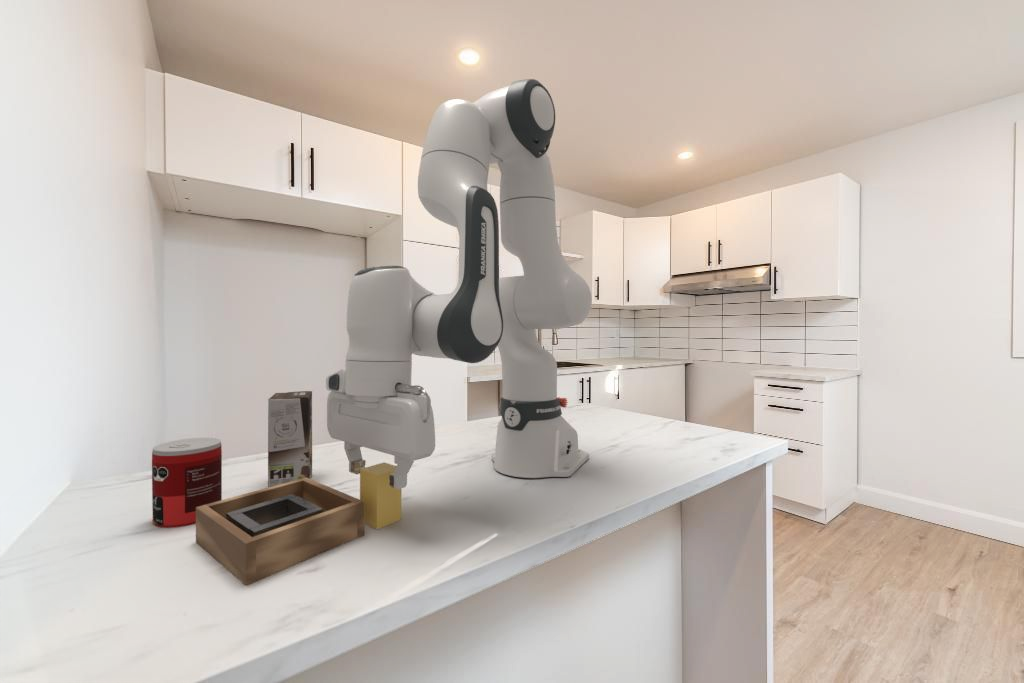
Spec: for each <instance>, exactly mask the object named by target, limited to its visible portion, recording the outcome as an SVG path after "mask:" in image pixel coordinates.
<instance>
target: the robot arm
mask: <svg viewBox="0 0 1024 683" xmlns="http://www.w3.org/2000/svg"><path fill="white" fill-rule="evenodd" d="M555 124H556V109H555V104H554V101H553V98H552V96H551V93H550V92H549V91H548V89H547V88H546V87H545V86H544V85H543V84H542V83H541V82H540V81H539V80H537V79H535V78H534V79H533V78H529V79H528V78H525V79H520V80H515V81H513V82H511V83H510V84H509V85H506V86H504V87H501V88H498V89H495V90H493V91H489V92H487V93H486V94H484V95H483V96H481V98H478V99H476V100H475V101H473V102H471V101H469V100H466V99H462V98H453V99H449V100H446V101H444V102H443V103H441V104H440V105H439V106H438V107H437V108H436V110H435V111H434V114H433V116H432V118H431V121H430V124H429V126H428V130H427V133H426V136H425V140H424V144H423V147H422V152H421V153H422V154H421V157H420V164H419V169H418V176H417V194H418V199H419V201H420V202H421V205H422V206H423V208H424V209H425V210H426V211H427V212H428V213H429V214H430V215H431V216H432V217H433V218H434V219H437V220H438V221H440V222H442V223H444V224H447V225H449V226H452V227H455V228H456V230H457V231H458V239H459V240H458V241H459V242H458V244H459V245H458V278H457V284H456V286H455V288H454V289H453V290H452V291H451V292H450V293H445V294H435V293H434V292H432V291H430V290H428V289H427V288H426V287H423V285H421V284H420V283H419V282H418V281H417V280H416V279H415V278H414V277H413V276H412V275H411V273H410V270H409V269H408V268H407V267H404V266H401V265H382V266H381V265H380V266H371V267H365V268H363V269H361V270H359V271H357V272H356V273H355V274H354V275H353V277H352V279H351V282H350V285H349V289H348V290H349V291H348V298H347V306H346V307H347V310H346V331H347V335H348V343H349V344H348V347H347V348H348V349H347V351H346V355H345V367H342V368H341V369H339V370H337V371H334V372H333V373H332V374H329V375H327V376H326V380H325V388H326V390H327V391H329V393H328V396H327V399H326V426H327V431H328V434H329V437H330V438H331V439H335V440H336V441H337V440H339V441H341V442H344V443H343V444H344V445H343V446H344V447H343V448H344V451H345V454H346V458H347V460H348V472H350V473H351V474H352V475H353V474H354V475H360V469H362V468H366V459H364V458H363V456H362V450H361V448H362V447H363V448H366V449H370V450H373V451H376V452H380V453H383V454H388V455H389V456H390V455H391V456H394V461H393V462H394V464H395V465H396V466H397V467H396V469H395V472H394V473H393V474H390V477H389V480H390V483H389V485H390V487H393V488H395V489H401V490H402V489H404V488H406V487H407V485H408V474H409V472H410V471H411V468H412V466H413V464H414V462H415V461H417V460H422V459H425V458H428V457H431V456H432V455H433V453H434V451H435V449H436V431H435V430H436V429H435V428H436V426H435V418H434V411H433V410H434V409H433V407H432V403H431V402H432V401H431V397H430V395H429V394H428V392H427V391H426V390H425V389H424V387H423V386H421V385H412V365H413V364H412V362H413V361H412V360H413V357H412V355H415V356H419V357H427V358H430V357H431V358H433V359H434V358H435V359H451V360H454V361H458V362H462V363H463V362H464V363H468V364H476V363H481V362H483V361H485V360H486V359H488V358H489V357H490V356H491V355H492V354H493V353H494V352H495V350H496V349H497V348H498V352H499V354H500V360H501V377H502V378H501V379H502V380H501V381H502V382H501V383H502V388H501V389H502V393H501V394H502V395H501V397H500V400H499V415H500V416H501V419H500V420H499V422H498V424H497V429H496V438H495V439H496V440H495V451H494V453H493V454H492V453H491V454H492V455H491V460H493V461H492V462H493V468H494V470H495V471H496V472H498V473H501V474H503V475H507V476H511V477H514V478H515V477H516V478H524V479H540V478H541V479H542V478H550V477H553V478H554V477H555V478H557V477H558V478H567V477H571V476H572V475H573V474H574V473H575V472H576V471H577V470H579V468H580V467H581V466H582V465H584V464H585V462H586V461H587V460H589V458H590V454H589V452H588V451H585V450H582V449H581V448H579V436H578V432H577V430H576V429H575V428H574V427H573V426H572V425H571V424H570V423H569V422H568V421H567V420H566V419H565V418H564V417H563V416H562V415H563V413H562V408H565V409H566V407H567V405H568V402H569V401H568V399H567V397H558V386H557V385H558V363H557V361H556V358H555V356H554V355H553V354H552V353H551V352H550V351H548V350H547V349H545V348H544V347H543V346H542V345H541V343H540V342H539V339H538V338H537V337H538V336H537V332H536V330H559V329H561V330H562V329H564V328H570V327H574V326H578V325H580V324H582V323H583V322H584V321H585V320H586V319H587V317H588V316H589V313H590V311H591V307H592V301H593V300H592V292H591V288H590V286H589V283H587V281H586V280H585V279H584V277H582V276H581V275H580V274H579V273H578V272H576V271H575V270H573V269H572V268H571V266H570V265H569V264H568V262H567V261H566V259H565V258H564V256H563V253H562V251H561V249H560V245H559V241H558V240H559V239H558V233H557V232H558V231H557V218H556V216H557V215H556V193H555V191H556V190H555V182H554V174H553V170H552V165H551V162H550V158H549V156H548V154H547V152H548V150H549V148H550V144H551V139H552V138H553V135H554V134H553V133H554V132H555V126H556V125H555ZM496 163H497V166H498V168H499V172H500V182H499V183H500V185H499V213H498V207H497V206H498V205H497V203H496V200H495V199H494V197H493V195H492V194H491V193H490V192H489V190H488V178H489V170H490V165H492V164H493V165H494V164H496ZM499 217H500V219H499ZM499 221H500V222H499ZM499 224H500V226H499ZM499 228H500V229H499ZM500 241H501V242H500ZM500 243H501V244H502V246H503V248H504V249H505V250H506V251H507V252H508V253H509V254H512V255H513V256H515V257H517V258H518V260H519V261H520V264H521V266H522V270H523V275H515V276H506V277H505V276H503V277H500ZM588 457H589V458H588Z"/></svg>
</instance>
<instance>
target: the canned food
mask: <svg viewBox="0 0 1024 683" xmlns="http://www.w3.org/2000/svg"><path fill="white" fill-rule="evenodd" d="M222 454H223V450H222V440H221V439H219V438H217V437H215V438H214V437H192V438H183V439H175V440H171V441H166V442H163V443H160V444H157V445H155V446H153V447H152V452H151V485H152V486H151V487H152V488H151V490H152V492H151V493H152V494H151V495H152V497H151V498H152V499H151V500H152V503H151V504H152V522H153V525H154V526H155V527H158V528H168V529H169V528H180V527H187V526H191V525H196V507H198V506H202V505H206V504H209V503H213V502H217V501H221V500H223V499H222V498H223V497H222V494H223V493H222V486H223V484H222V483H223V482H222V480H223V479H222V475H223V473H222V472H223V471H222V470H223V469H222V468H223V467H222V466H223V462H222V461H223V460H222V459H223V457H222V456H223V455H222Z"/></svg>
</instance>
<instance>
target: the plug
mask: <svg viewBox="0 0 1024 683" xmlns="http://www.w3.org/2000/svg"><path fill="white" fill-rule="evenodd" d="M396 467H397V465H396V464H395V465H394V464H391V463H387V462H381V463H376V464H373V465H370V466H367V467H366V466H365V468H362V469H360V474H359V500H362V501H364V525H367V527H368V526H369V527H370V528H373V529H374V530H375V529H376V530H380V529H381V528H384V527H387V526H389V525H392V524H394V523H396V522H398V521H400V520H402V488H401V489H395V488H393V487H390V485H389V483H390V480H389V477H390V474H393V473H394V472H395V469H396Z"/></svg>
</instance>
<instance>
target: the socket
mask: <svg viewBox="0 0 1024 683" xmlns="http://www.w3.org/2000/svg"><path fill="white" fill-rule="evenodd" d="M320 513H323V509H322V508H320V507H318V506H317V505H315V504H313V503H311V502H309V501H306V500H304V499H302V498H300V497H298V496H295V495H293V494H290V495H287V496H283V497H280V498H276V499H273V500H270V501H266V502H263V503H259V504H256V505H253V506H249V507H246V508H242V509H239V510H235V511H232V512H229V513H226V519H227V520H228V521H229V522H231V523H232V524H234V525H235V526H237V527H238V528H240V529H241V530H242V531H244V532H245V533H247V534H248V535H250V536H251V537H254V536H257V535H260V534H263V533H265V532H268V531H271V530H274V529H277V528H280V527H283V526H286V525H288V524H291V523H294V522H297V521H300V520H303V519H306V518H309V517H311V516H314V515H317V514H320Z"/></svg>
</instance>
